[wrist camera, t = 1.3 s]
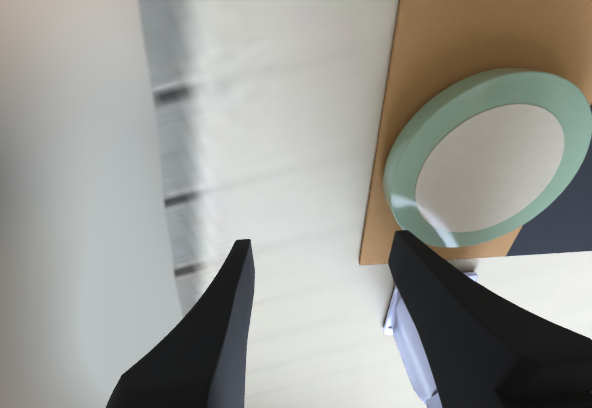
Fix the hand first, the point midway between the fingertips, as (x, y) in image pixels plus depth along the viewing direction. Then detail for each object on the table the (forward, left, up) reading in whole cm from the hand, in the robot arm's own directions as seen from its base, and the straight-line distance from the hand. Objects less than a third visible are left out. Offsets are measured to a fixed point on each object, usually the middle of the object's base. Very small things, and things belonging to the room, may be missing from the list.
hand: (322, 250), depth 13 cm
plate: (0, -12, -8) cm, 14 cm away
